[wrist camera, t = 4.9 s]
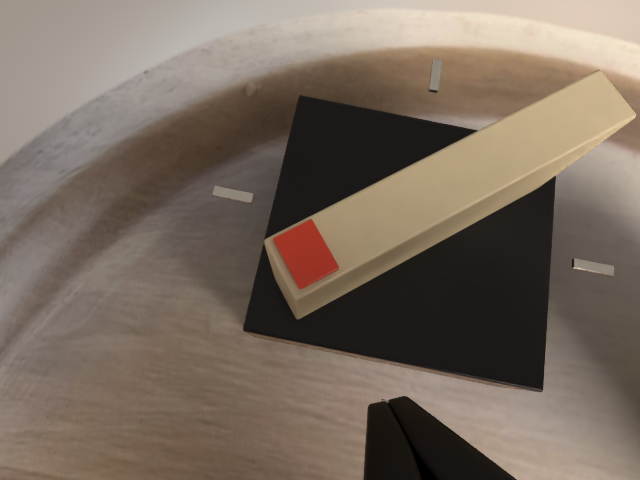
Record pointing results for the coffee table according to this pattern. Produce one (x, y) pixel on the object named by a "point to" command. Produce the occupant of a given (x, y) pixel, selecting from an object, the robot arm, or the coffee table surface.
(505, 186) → the pointer
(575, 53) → the coffee table surface
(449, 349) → the dial panel
